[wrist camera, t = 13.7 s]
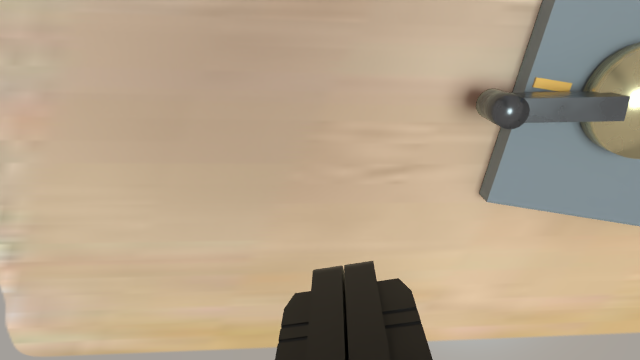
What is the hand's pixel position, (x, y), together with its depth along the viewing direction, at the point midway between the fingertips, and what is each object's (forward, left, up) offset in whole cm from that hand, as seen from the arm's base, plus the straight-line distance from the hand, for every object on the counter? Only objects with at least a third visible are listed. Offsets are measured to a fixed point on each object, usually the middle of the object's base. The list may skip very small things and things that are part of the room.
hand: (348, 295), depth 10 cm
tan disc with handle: (-4, +20, -25) cm, 32 cm away
